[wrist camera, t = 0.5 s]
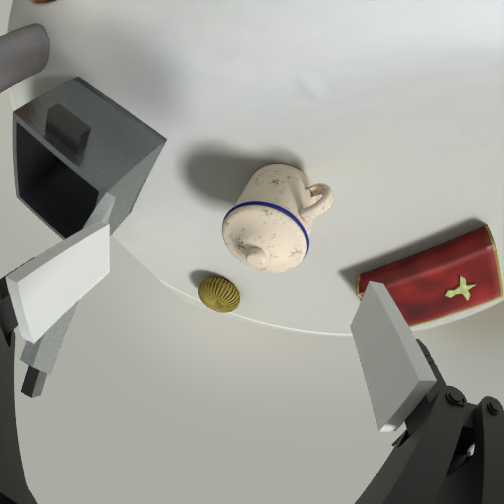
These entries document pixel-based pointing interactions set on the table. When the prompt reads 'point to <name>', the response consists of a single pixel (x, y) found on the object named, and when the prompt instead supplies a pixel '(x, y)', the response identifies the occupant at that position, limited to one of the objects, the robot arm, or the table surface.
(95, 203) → the grey storage box
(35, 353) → the lid
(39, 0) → the bread roll
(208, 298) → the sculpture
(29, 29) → the pillar candle
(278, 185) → the teacup with lid
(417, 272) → the hardcover book
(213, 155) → the table surface
